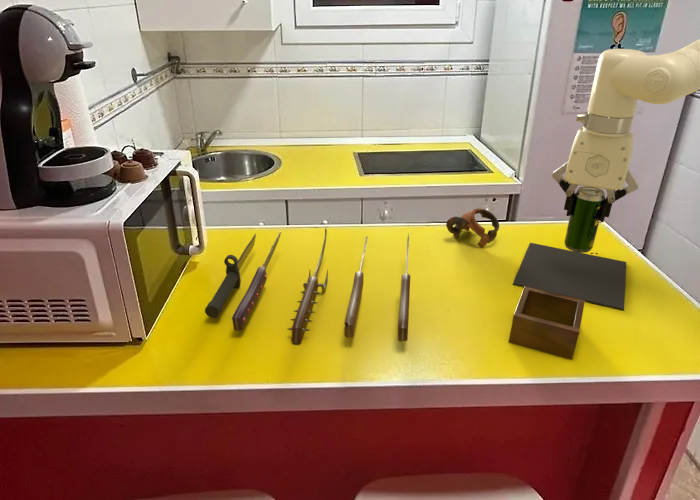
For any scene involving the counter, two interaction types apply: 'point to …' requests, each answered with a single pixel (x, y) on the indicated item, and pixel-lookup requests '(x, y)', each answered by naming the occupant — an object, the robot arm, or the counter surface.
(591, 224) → the beer can
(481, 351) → the counter surface
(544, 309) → the box
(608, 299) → the mat
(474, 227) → the brown curved piece
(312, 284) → the knife set
